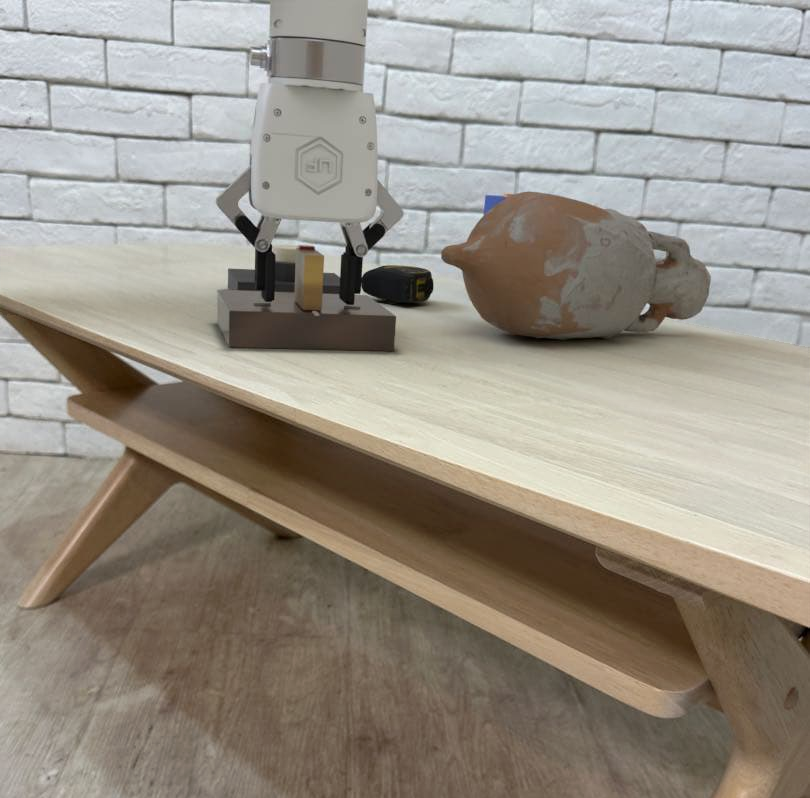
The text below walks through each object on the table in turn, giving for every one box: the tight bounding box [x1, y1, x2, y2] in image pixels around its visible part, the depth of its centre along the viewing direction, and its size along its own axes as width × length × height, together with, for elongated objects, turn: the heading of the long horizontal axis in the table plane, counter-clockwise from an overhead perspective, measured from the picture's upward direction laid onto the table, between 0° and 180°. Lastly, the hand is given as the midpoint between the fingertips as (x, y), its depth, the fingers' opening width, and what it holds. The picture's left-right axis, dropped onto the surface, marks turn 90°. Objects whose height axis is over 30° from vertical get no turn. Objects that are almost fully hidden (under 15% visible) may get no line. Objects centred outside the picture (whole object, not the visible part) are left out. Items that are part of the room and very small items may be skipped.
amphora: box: [440, 191, 712, 341], centre depth 96 cm, size 14×16×30 cm
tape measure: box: [361, 264, 434, 305], centre depth 110 cm, size 7×7×4 cm
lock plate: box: [216, 289, 397, 352], centre depth 87 cm, size 14×12×3 cm
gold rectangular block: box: [294, 244, 325, 311], centre depth 84 cm, size 5×2×5 cm, turn 14°
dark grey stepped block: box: [227, 261, 340, 294], centre depth 107 cm, size 12×10×4 cm
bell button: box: [272, 244, 298, 263], centre depth 106 cm, size 4×4×2 cm
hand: (307, 298), depth 85 cm, fingers open, 6 cm apart
